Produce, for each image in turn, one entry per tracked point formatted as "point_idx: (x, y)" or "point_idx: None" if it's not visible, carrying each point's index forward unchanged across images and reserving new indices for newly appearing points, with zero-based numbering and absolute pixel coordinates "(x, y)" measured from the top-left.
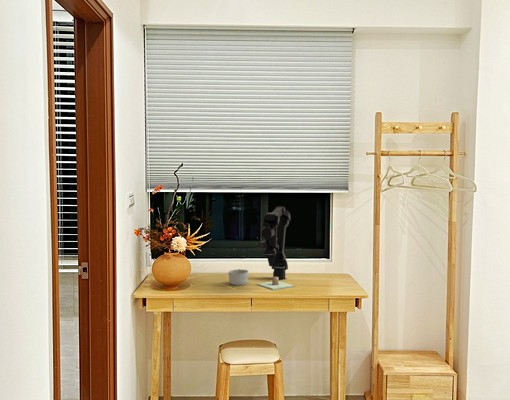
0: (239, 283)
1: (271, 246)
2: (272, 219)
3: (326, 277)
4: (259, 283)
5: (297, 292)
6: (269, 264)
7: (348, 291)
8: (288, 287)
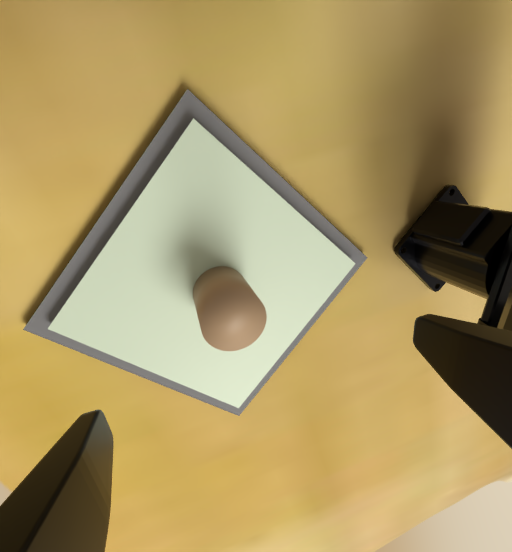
0: None
1: None
2: None
3: (482, 429)
4: (209, 138)
5: None
6: (56, 459)
7: None
8: (193, 390)
